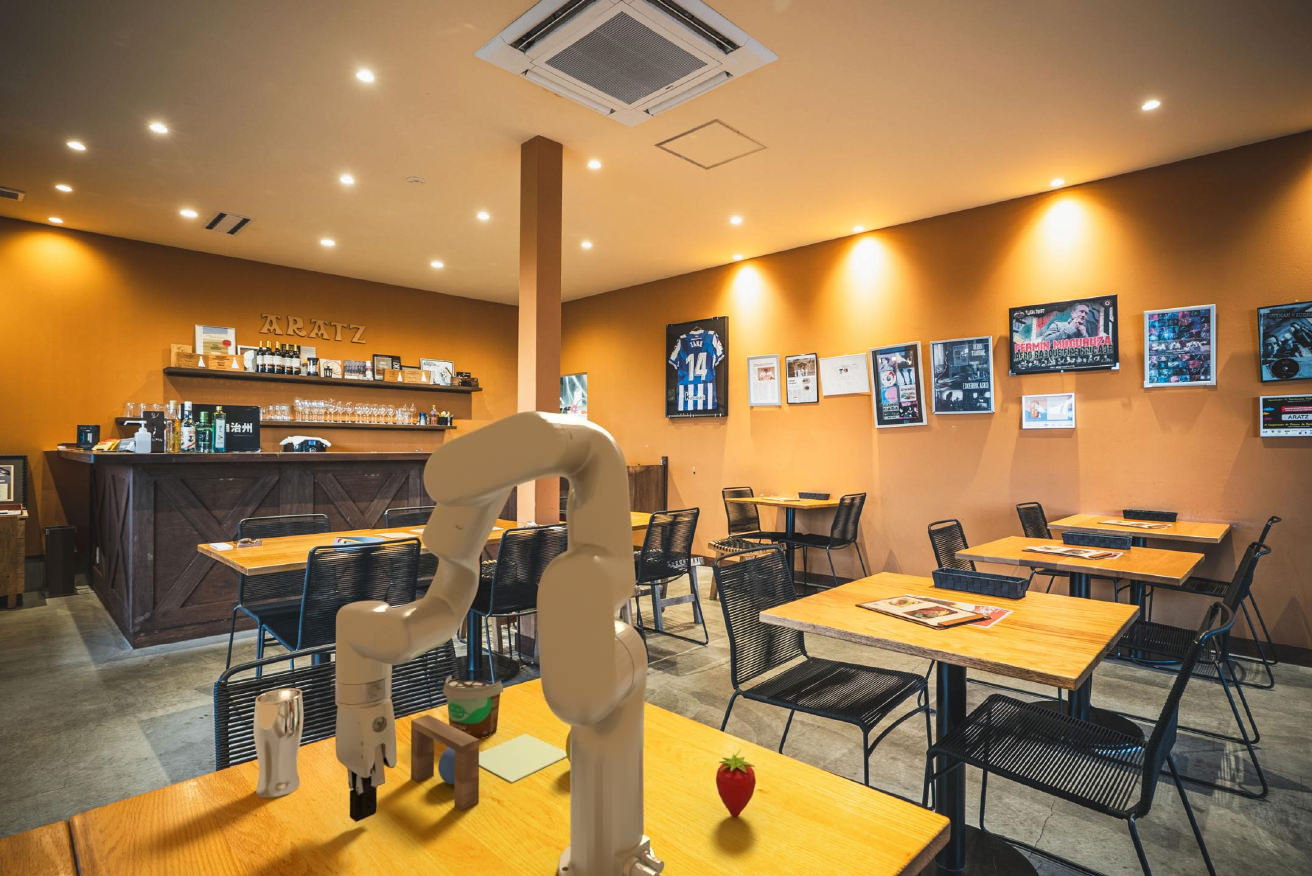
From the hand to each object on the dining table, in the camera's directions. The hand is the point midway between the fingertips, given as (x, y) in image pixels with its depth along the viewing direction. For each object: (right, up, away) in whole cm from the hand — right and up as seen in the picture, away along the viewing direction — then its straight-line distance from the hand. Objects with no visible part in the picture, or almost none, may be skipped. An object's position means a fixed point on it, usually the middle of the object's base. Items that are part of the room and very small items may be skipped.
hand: (363, 815), depth 94 cm
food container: (+6, -3, +30) cm, 31 cm away
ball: (+10, +1, +12) cm, 16 cm away
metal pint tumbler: (-19, -2, +11) cm, 21 cm away
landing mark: (+18, -2, +21) cm, 28 cm away
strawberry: (+54, -2, +2) cm, 55 cm away
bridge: (+8, -2, +10) cm, 13 cm away
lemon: (+30, -2, +16) cm, 34 cm away
